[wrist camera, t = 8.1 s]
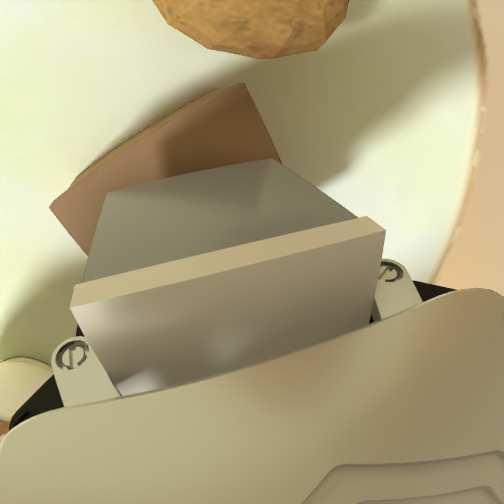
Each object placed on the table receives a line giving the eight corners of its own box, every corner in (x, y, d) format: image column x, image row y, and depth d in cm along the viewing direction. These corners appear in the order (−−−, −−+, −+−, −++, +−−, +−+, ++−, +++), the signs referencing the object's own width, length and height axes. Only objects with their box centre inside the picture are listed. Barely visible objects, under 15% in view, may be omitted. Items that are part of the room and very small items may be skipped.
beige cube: (280, 289, 15) (349, 395, 9) (148, 322, 13) (166, 452, 8) (274, 155, 11) (385, 229, 6) (104, 190, 10) (69, 307, 5)
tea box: (281, 214, 21) (319, 253, 17) (160, 287, 21) (168, 341, 16) (217, 84, 16) (244, 83, 11) (73, 174, 15) (49, 207, 11)
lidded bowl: (-2, 305, 17) (-45, 435, 8) (127, 382, 24) (141, 501, 15) (-37, 378, 18) (-58, 474, 9) (65, 432, 25) (68, 523, 16)
